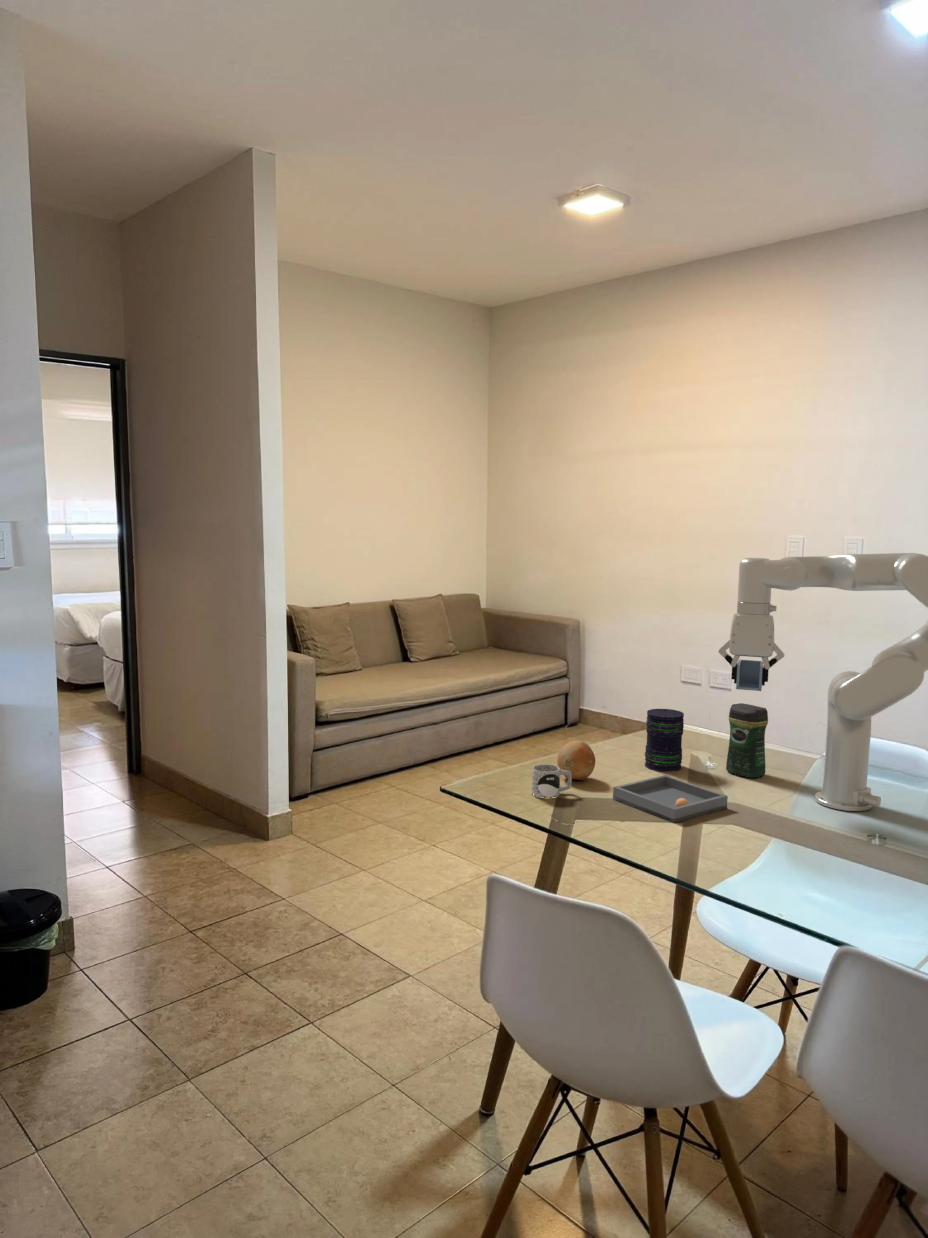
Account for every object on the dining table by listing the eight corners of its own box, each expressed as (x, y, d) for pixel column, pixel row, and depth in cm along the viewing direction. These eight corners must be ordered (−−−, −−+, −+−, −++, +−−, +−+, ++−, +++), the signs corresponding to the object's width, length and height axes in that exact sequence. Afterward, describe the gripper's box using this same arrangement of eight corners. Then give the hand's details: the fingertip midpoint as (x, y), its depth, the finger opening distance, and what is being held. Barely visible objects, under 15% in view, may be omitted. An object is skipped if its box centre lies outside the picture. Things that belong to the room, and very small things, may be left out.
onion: (552, 782, 219) (553, 744, 218) (561, 772, 229) (562, 734, 228) (590, 787, 216) (592, 748, 215) (597, 776, 226) (599, 738, 224)
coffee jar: (770, 775, 229) (774, 706, 226) (751, 780, 224) (755, 710, 222) (739, 767, 236) (742, 699, 234) (720, 771, 232) (724, 703, 229)
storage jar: (682, 773, 229) (685, 718, 228) (644, 770, 231) (646, 715, 230) (680, 763, 239) (683, 709, 237) (644, 760, 241) (646, 707, 239)
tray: (726, 808, 202) (727, 796, 202) (674, 822, 192) (674, 809, 192) (664, 786, 218) (665, 775, 217) (612, 799, 207) (613, 787, 207)
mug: (537, 800, 206) (538, 773, 205) (527, 791, 212) (528, 765, 211) (576, 797, 208) (577, 770, 208) (565, 788, 215) (566, 762, 214)
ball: (671, 799, 198) (674, 813, 198) (678, 799, 195) (681, 812, 195) (682, 797, 199) (685, 810, 199) (690, 796, 196) (692, 810, 196)
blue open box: (737, 683, 216) (739, 659, 215) (762, 685, 214) (763, 661, 213) (736, 689, 208) (737, 664, 207) (761, 691, 206) (762, 666, 206)
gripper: (791, 609, 209) (787, 683, 211) (717, 606, 215) (713, 678, 217) (791, 612, 202) (787, 689, 204) (715, 609, 208) (711, 683, 210)
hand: (749, 682), depth 211 cm, fingers closed on blue open box, 5 cm apart
